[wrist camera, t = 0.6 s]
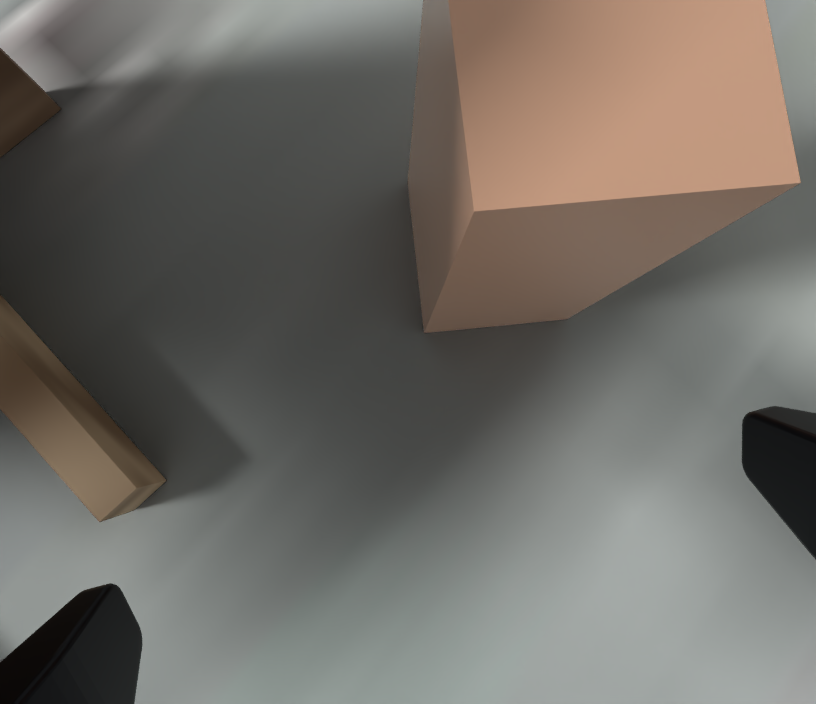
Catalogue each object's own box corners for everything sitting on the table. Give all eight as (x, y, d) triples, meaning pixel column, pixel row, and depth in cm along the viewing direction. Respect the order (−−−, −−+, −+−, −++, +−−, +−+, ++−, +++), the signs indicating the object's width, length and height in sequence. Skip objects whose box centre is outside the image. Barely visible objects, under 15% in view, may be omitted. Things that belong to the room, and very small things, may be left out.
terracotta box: (566, 319, 22) (800, 183, 10) (423, 333, 22) (474, 211, 9) (546, 170, 23) (738, -137, 10) (407, 181, 22) (433, -119, 10)
